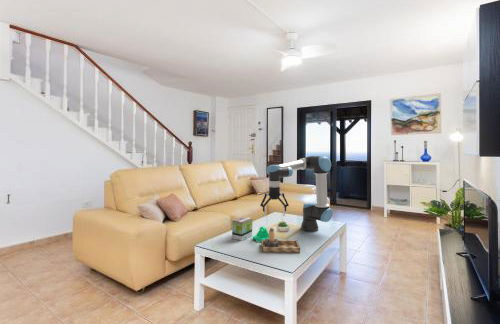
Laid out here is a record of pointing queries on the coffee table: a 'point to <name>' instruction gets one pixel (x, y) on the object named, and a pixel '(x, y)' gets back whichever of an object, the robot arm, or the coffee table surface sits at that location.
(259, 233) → the green lumpy mound
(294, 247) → the inlet box
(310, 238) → the coffee table surface
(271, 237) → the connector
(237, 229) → the tea box
